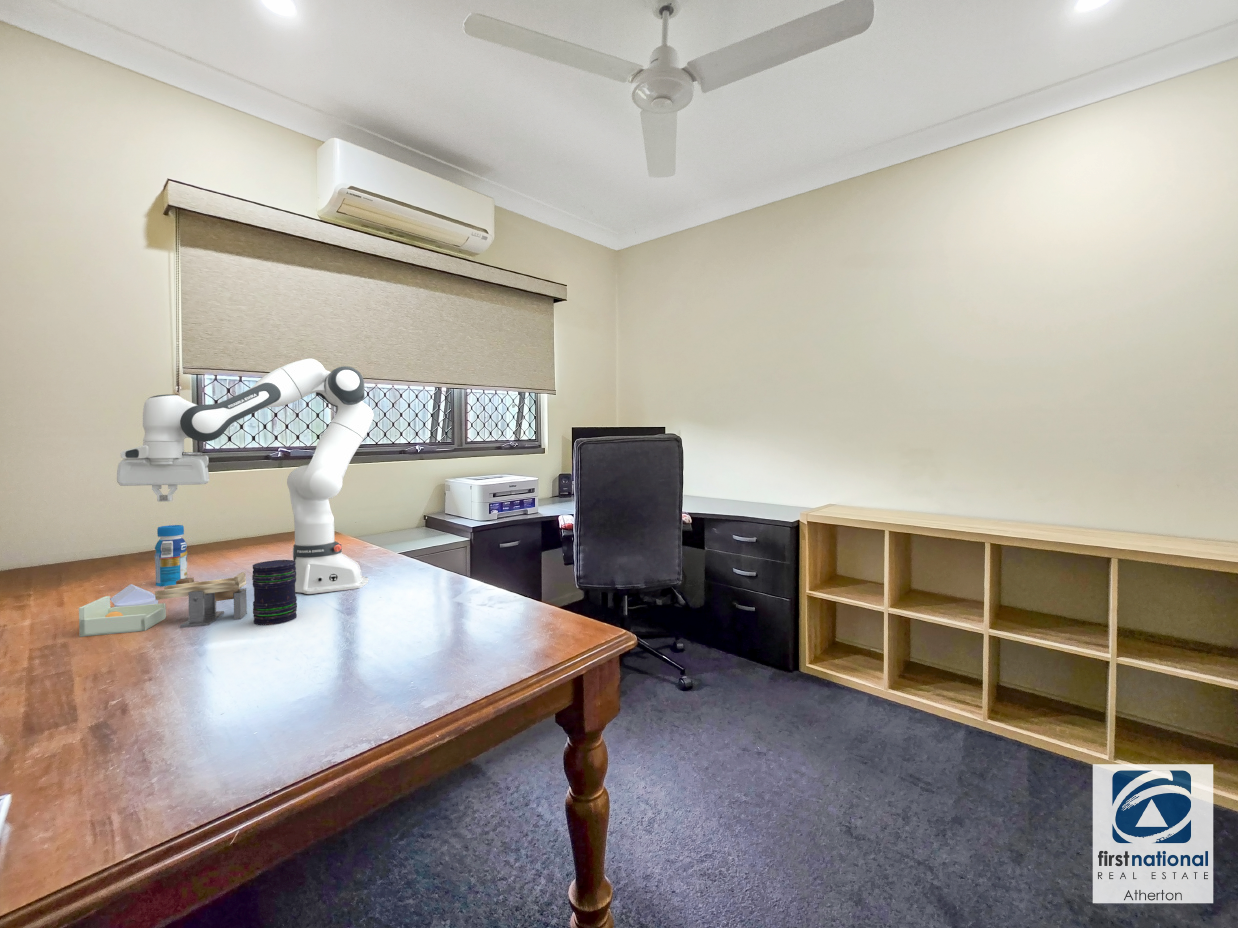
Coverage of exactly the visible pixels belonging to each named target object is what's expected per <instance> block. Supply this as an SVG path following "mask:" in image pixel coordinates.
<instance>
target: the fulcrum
mask: <svg viewBox="0 0 1238 928" xmlns="http://www.w3.org/2000/svg"><path fill="white" fill-rule="evenodd" d="M247 595H248V594H247V588H240V589H239V590H238V591H236V592H235V593H234V599H233V620H234V621H235V620H241V619H243V618H244V617H245V616H246V615H247V614H248V610H247V609H248V607H247V606H248V605H247V604H248V603H247V601H248V600H247ZM187 597H188V619H187V620H186V621H184V622H182V624H180V625H179V626H180V628H181V629H182V628H191V627H201V626H203V627H204V626H210V625H211V624H212V623H213V622H214V621H216V620H217V619H219V618H220V617H222V615H224V614H225V610H220V611H219V610H218V611H217V601H215V593H207V594H204V590H202V591H190V592H188V596H187Z"/></svg>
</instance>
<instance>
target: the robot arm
mask: <svg viewBox="0 0 1238 928" xmlns="http://www.w3.org/2000/svg"><path fill="white" fill-rule="evenodd" d="M311 394H316V395H318V396H319V397H320V398H322V399H323V400H324V401H325V402H326V403H328V404H329V405H330V406H333V407H334V408H335V407H336V408H337V412H336V414H335V416H334V418H332V420H331V422H330V423H329V425H328V426H327V428H326V429H325V431H324V432H323V434H322V435H321V437H320V438H319V440H318V441H317V443H316V448H315V451H314V453H313V456H312V458H311V460H310V462H309V464H305V465H300V466H298V467H296V468H295V469H293V470H292V471H291V472H289V474H288V476H287V480H286V485H287V487H288V488H287V489H288V490H289V498H290V504H291V509H292V513H293V523H294V544H293V548H292V560H294V561H296V565H295V566H296V583H295V593H300V594H301V593H302V594H305V595H312V594H314V595H315V594H321V593H322V594H323V593H329V592H330V593H331V592H337V591H346V590H355V589H356V590H357V589H360V588H363V586H364V585H365V586H367V585H368V584H369V582H368V581H370V579H369V577H367V576H365V575H364V576H363V575H362V571H361V570H362V569H361V566H360V564H359V563H358V562H357V561H356V560H354V559H352V558H351V557H349V556H347V555H346V554H344V553H342V550H343V548H342V547H343V546H342V545H343V544H342V543H341V542H338V541H336V540H335V517H334V514H333V512H332V508H331V504H330V499H332V498H334V497H336V496H337V495H338V494H340V492H341V491H342V488H343V481H344V478H345V475H346V472H347V470H348V467H349V465H350V463H351V460H352V458H353V457H354V455H355V454H356V451H357V450H358V448H359V447H360V446H361V444H362V443H363V441H364V439H365V437H366V436H367V434H368V432H369V430H370V428H371V425H372V423H373V420H374V417H375V415H374V411H373V410H372V408H371V407H370V406H369V405H368V404H366V403H365V402H363V400H364V399H365V380H364V377H363V374H361V373H360V371H358V370H357V369H356V368H354V367H351V366H344V365H343V366H339V367H337V368H334V369H333V370H332V371H329V370H327V369H326V368H325V367H324V365H323V364H322V363H321V362H320V361H318V360H317V359H314V358H311V357H310V358H309V357H308V358H304V359H300V360H296V361H294V362H290V363H288V364H284V365H282V366H280V367H278V368H276V369H274V370H272V371H270V372H269V373H266V374H265V375H264V376H262V377H261V378H260V379H258V380H257V382H255V384H254V385H253V386H251V387H250V388H248V389H247V390H245V391H243V392H241V393H237V394H236V395H234V396H232V397H229V398H227V399H225V400H222V401H220V402H217V403H212V404H209V403H208V404H199V405H198V404H196V403H194V402H191V401H188V400H187V399H185V398H183V397H181V396H180V395H178V394H173V393H172V394H170V393H169V394H158V395H153V396H150V397H148V398H147V399H146V400H145V401H144V404H143V408H142V409H143V410H142V411H143V412H142V427H143V430H144V436H143V440H142V445H140V446H138V447H133V448H130V449H124V450H121V452H120V458H121V459H122V460H120V461H119V462H118V465H117V472H116V483H117V484H119V485H120V486H121V487H125V486H127V487H128V486H129V487H131V486H134V487H135V486H136V487H137V486H151V490H152V492H153V493H154V494H155V495H156V496H157V497H156V501H157V502H159V503H161V502H172V501H173V500H174V499H173V497H174V494H175V493H176V491H177V490H178V486H180V485H181V486H182V485H183V486H184V485H187V486H188V485H190V486H191V485H206V484H208V483H209V481H210V474H209V467H208V466H209V462H210V460H209V456H208V455H207V454H205V453H203V452H200V451H198V452H191V451H190V452H189V451H187V452H186V451H185V440H186V439H187V438H188V439H192V440H193V441H197V442H204V443H205V442H212V441H214V440H217V439H219V438H221V436H223V434H224V433H225V432H226V431H227V430H228V429H229V427H230V426H231V425H233V424H234V423H236V422H237V421H240V420H242V419H243V418H245V417H248V416H250V415H252V414H254V413H256V412H258V411H260V410H261V411H262V410H264V409H269V408H277V407H284V406H287V405H289V404H292V403H295V402H298V401H300V400H301V399H304V398H305V397H308V396H310V395H311ZM162 486H167V489H168V490H169V491H168V493H167V494H163V493H162V491H161V489H162ZM365 577H367V578H365ZM366 584H367V585H366ZM365 586H364V587H365Z"/></svg>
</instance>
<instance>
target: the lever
mask: <svg viewBox="0 0 1238 928" xmlns="http://www.w3.org/2000/svg"><path fill="white" fill-rule="evenodd" d="M246 585H247V578H246V572H245V571H242V572H240V573H238V574H237V575H235V576H234V577H229V578H227V577H226V578H220V579H211V580H204V581H203V580H202V581H195V579H194V577H187V578H185V579H180V580H178V581H176V585H170V586H164V589H161V590H160V589H159V590H155V591H154V595H155V599H156V600H158V601H159V600H165V599H175V598H183V597H188V592H190V591H202V590H204V594H207V593H215V601H216V602H219V601H229V600H234V593H235V592H236V591H238V590H239V589H243V587H244V586H246Z"/></svg>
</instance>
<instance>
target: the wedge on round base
mask: <svg viewBox="0 0 1238 928" xmlns="http://www.w3.org/2000/svg"><path fill="white" fill-rule="evenodd" d="M110 602H112V603H113V607H123V606H135V605H148V604H159V600H156V599H155V593H153V592H152V591H148V590H147V589H144V588H141V587H139V586H136V585H135V584H132V583H131V584H128V585H127V586H126V587H124V588H123V589H122V590H120V591H119V592H118V593H116V594H115V595H113V596H112V597H110Z"/></svg>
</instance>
